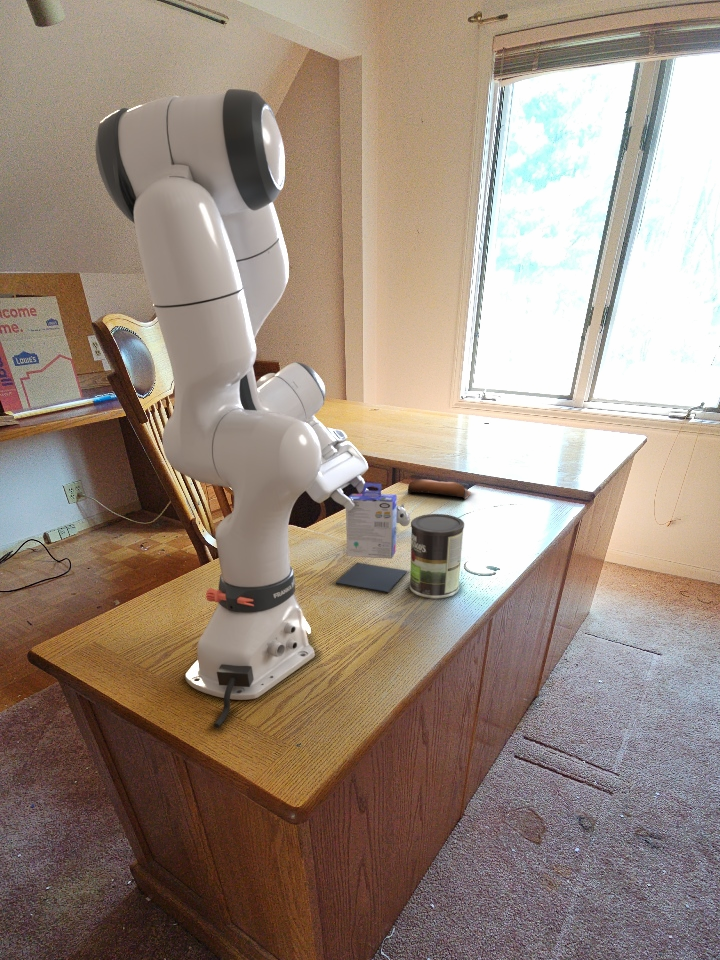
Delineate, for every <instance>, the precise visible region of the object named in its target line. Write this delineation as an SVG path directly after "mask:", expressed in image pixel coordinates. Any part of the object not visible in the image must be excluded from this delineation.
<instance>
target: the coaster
mask: <svg viewBox="0 0 720 960" xmlns="http://www.w3.org/2000/svg"><path fill="white" fill-rule="evenodd" d="M407 573H408V571H407V570H406V569H405V570H404V569H398V568H392V567H385V566H381V565H373V564H367V563H361V562H356V563H355V564H354V565H353V566H352V567H351V568H350V569H349V570H347V571H346V572H345V573H344V574H343V575H341V577H340V578H338V579H337V580H336V581H335V585H340V586H346V587H351V588H355V589H362V590H368V591H372V592H379V593H382V594H383V593H384V594H389V593H390V591H391V590H393V588H394V587H395V586H396V585H397V584H398V583H399V582H400V580H401V579H402V578H404V576H405V575H406V574H407Z"/></svg>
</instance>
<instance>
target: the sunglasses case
mask: <svg viewBox="0 0 720 960" xmlns="http://www.w3.org/2000/svg"><path fill="white" fill-rule="evenodd" d="M407 493H408V494H410V493H423V494H425V493H429V494H435V495H443V496H453V497H460V498H463V500H467V499H468V498H469V497H470V496H471V494H472V492H471V491H470V490H468V489H467V488H465V486H464V485H463V484H460V483H458V482H456V481H443V480H442V481H437V480H434V479H433V480H432V479H425V478H424V479H415V480H411V481H410V482H409V483H408V487H407Z"/></svg>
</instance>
